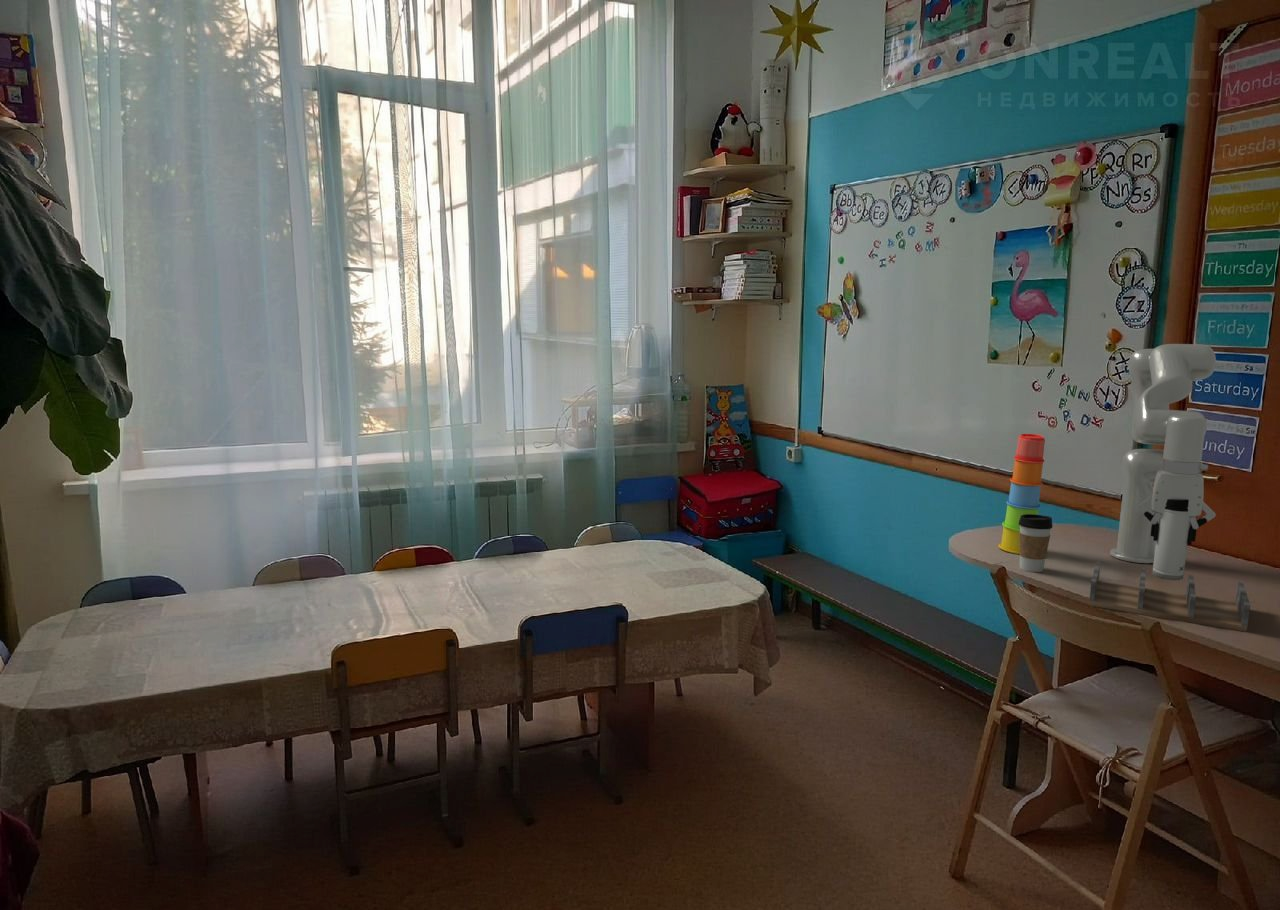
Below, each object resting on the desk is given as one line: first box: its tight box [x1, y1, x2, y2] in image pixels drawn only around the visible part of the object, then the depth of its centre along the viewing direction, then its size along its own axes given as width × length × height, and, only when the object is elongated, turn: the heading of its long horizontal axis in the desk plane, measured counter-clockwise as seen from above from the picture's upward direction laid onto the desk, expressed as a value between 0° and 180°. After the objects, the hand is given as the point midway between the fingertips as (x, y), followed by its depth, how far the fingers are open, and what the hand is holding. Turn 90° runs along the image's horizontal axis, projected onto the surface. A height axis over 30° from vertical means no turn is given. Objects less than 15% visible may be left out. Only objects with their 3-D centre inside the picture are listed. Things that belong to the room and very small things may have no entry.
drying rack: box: [1088, 561, 1251, 633], centre depth 200 cm, size 18×31×6 cm, turn 58°
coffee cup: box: [1019, 514, 1053, 573], centre depth 228 cm, size 8×8×15 cm
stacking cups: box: [998, 433, 1046, 555], centre depth 244 cm, size 10×10×35 cm
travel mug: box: [1151, 499, 1191, 581], centre depth 197 cm, size 6×7×20 cm
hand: (1172, 541), depth 198 cm, fingers closed on travel mug, 6 cm apart
